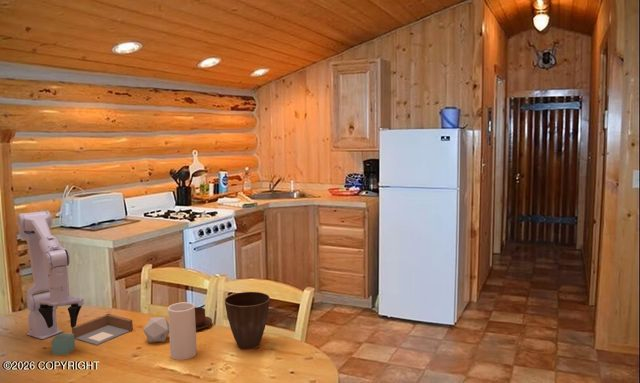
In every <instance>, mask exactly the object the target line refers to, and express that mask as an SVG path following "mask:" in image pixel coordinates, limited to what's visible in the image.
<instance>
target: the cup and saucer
mask: <svg viewBox="0 0 640 383" xmlns="http://www.w3.org/2000/svg"><path fill="white" fill-rule="evenodd" d="M212 323H213V319H212V318H211V317H210V316H206V309H205V308H204V307H199V306H198V307H197V306H195V324H196V331H199V330H203V329H206V328H208V327H209V326H210V325H212Z"/></svg>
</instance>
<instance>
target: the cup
mask: <svg viewBox="0 0 640 383" xmlns="http://www.w3.org/2000/svg"><path fill="white" fill-rule="evenodd" d="M195 305H196V304H194V303H193V302H187V301H183V302H177V303H172V304H170V305H169V306H168V308H167V310H168V312H167V313H168V314H167V315H168V323H169V334H168V336H169V350H170V351H169V352H170V354H169V355H170V358H171V359H173V360H177V361H182V360H189V359H191V358H194V357H195V356H196V355H197V354H198V351H197V330H196V324H195V307H196V306H195Z"/></svg>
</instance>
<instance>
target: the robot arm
mask: <svg viewBox="0 0 640 383" xmlns="http://www.w3.org/2000/svg"><path fill="white" fill-rule="evenodd" d="M16 217H17V219H16V221H17V228H18V235H19V236H20V238H23V239H25V241H26V243H27V244H26V245H27V250H28V257H29V262H30V267H31V274H32V280H33V284H32V285H31V286H30V287H29V288H28V289H27V291H26V306H27V310H28V311H29V313H28V315H27V320H28V321H27V322H28V330H29V332H27V333H26V335H28V336H30V337H33V338H37V339H40V340H46V339H48V338H51V337H54V336H57V335H58V334H62V333H63V332H64V330H63V329H59V328H58V318H57V317H58V316H57V309H58V307H59V306H69V307H68V308H67V311H68V315H69V320H70V321H69V322H70V328H71V329H72V328H73V327H75V326H77V321H78V316H79V314H80V311H81V309H82V307H83V305H84V304H85V302H84V300H85V299H84V297H74V296H73V297H71V296H70V286H69V274H68V273H69V272H68V266H70V255H69V254H70V253H69V251H68V249H67V248H66V247H62V245H61V244H60V241H59V240H58V238H57V237H56V236H55V235H52V233H51V232H52V231H51V228H52V227H51V226H52V223H53V220H52V214H51V212H50V211H49V210H42V211H41V210H40V211H35V212H34V211H33V212H25V213H22V212H21V213H18V215H17V216H16Z"/></svg>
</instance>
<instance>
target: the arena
mask: <svg viewBox="0 0 640 383" xmlns="http://www.w3.org/2000/svg"><path fill="white" fill-rule="evenodd" d="M133 327H134V326H133V319H131V318H127V317H124V316H118V315H115V314H111V313H107V314H103V315H102V316H99V317H96V318H94V319H91V320H87V321H85V322H83V323H80V324H76V326H75V327H73V328H71V332H72V333H71V334H74V339H75V340H77V341H80V342H84V343H87V344H90V345H94V346H99V345H102V344H104V343H107V342H108V341H111V340H114V339H115V338H118V337H121V336H123V335H125V334H127V333H130V332H132V331H133V330H134V329H133Z"/></svg>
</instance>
